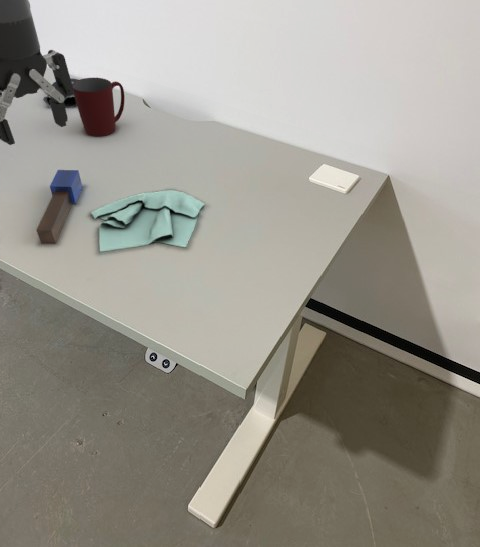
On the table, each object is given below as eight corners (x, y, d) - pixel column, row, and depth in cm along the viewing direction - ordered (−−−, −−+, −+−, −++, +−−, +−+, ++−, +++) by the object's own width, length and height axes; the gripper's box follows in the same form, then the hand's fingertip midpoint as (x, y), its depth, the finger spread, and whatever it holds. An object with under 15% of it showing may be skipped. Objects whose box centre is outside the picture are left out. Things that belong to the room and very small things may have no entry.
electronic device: (84, 112, 115) (88, 83, 124) (76, 93, 110) (81, 65, 119) (49, 116, 114) (56, 88, 123) (40, 98, 110) (48, 69, 119)
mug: (119, 116, 111) (112, 72, 103) (136, 129, 106) (130, 84, 98) (75, 127, 105) (65, 82, 97) (91, 141, 100) (81, 94, 93)
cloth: (215, 201, 85) (215, 190, 83) (170, 270, 70) (169, 260, 68) (125, 180, 89) (123, 170, 87) (64, 242, 74) (60, 231, 72)
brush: (36, 243, 73) (29, 225, 70) (62, 187, 86) (57, 169, 83) (60, 243, 73) (54, 225, 71) (82, 187, 86) (78, 170, 84)
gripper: (35, -1, 59) (63, 112, 70) (-74, 14, 51) (-23, 140, 62) (65, 10, 55) (90, 127, 67) (-46, 28, 47) (3, 158, 59)
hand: (36, 133), depth 64 cm, fingers open, 8 cm apart
